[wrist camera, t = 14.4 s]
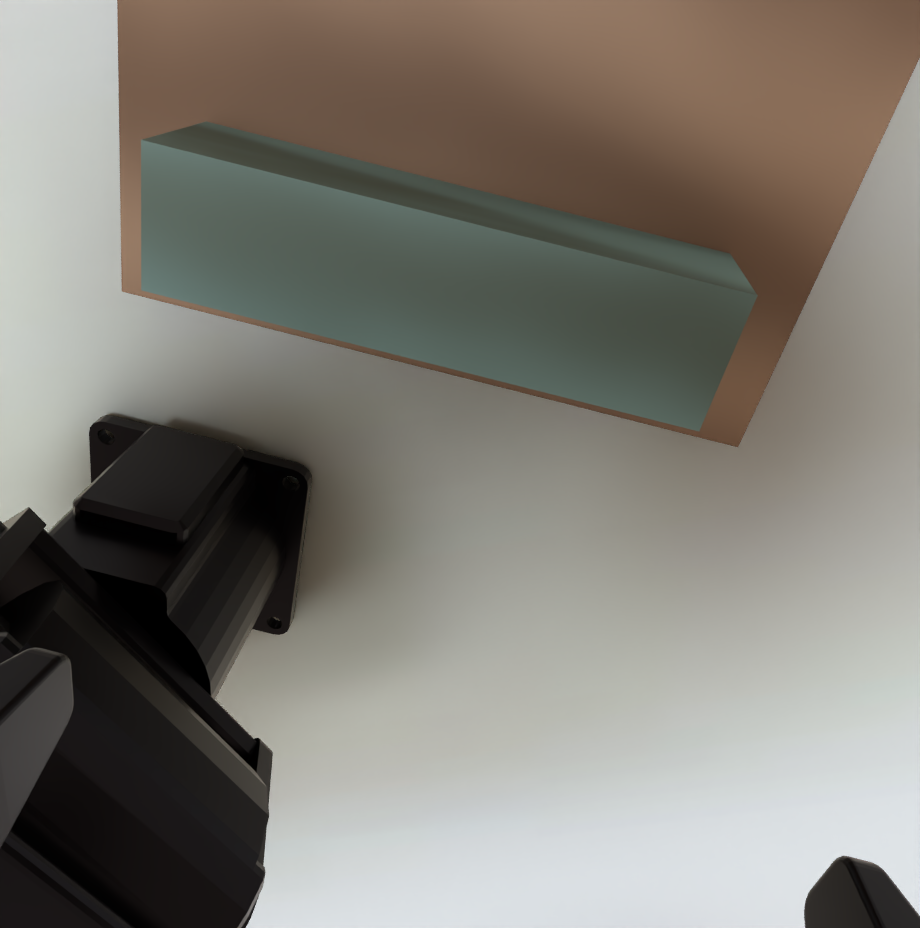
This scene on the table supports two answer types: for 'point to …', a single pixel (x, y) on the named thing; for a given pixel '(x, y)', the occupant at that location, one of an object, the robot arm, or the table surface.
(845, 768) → the table surface
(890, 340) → the table surface
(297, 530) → the robot arm
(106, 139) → the table surface
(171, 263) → the ring
